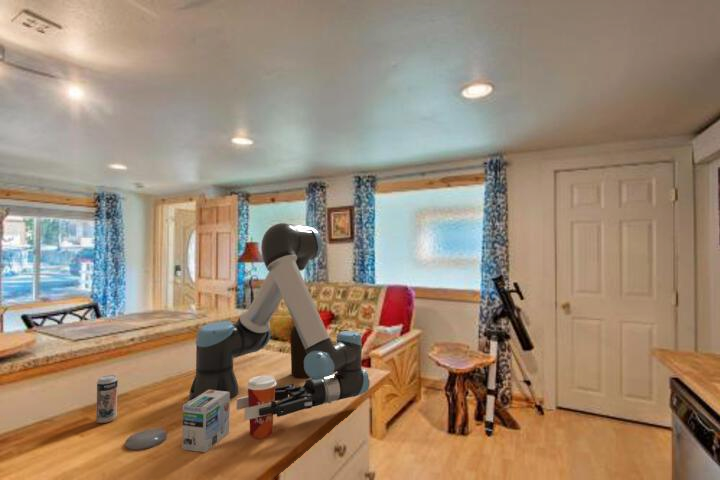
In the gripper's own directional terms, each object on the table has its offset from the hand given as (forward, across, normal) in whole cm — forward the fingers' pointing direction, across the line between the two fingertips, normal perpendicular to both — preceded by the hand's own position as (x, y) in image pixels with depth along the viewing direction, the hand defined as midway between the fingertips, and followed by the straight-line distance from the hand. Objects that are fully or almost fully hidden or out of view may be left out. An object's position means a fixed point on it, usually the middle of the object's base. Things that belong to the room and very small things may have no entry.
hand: (241, 409), depth 93 cm
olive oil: (-35, +37, -8) cm, 51 cm away
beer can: (+29, +31, -8) cm, 43 cm away
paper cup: (-5, 0, -8) cm, 9 cm away
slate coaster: (+20, +12, -8) cm, 25 cm away
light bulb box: (+7, +4, -8) cm, 11 cm away
